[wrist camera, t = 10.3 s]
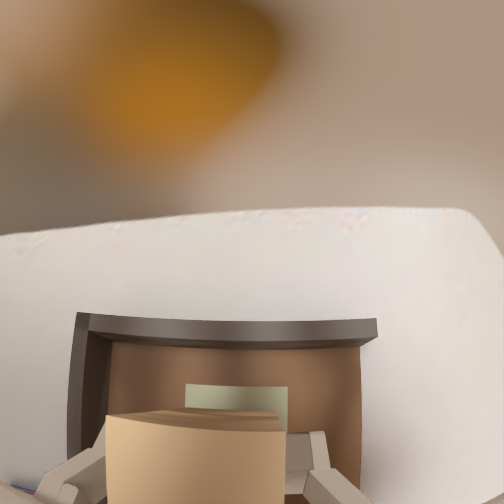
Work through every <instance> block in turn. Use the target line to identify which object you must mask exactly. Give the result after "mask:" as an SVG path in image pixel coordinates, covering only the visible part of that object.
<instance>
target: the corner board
mask: <svg viewBox="0 0 504 504" xmlns="http://www.w3.org/2000/svg"><path fill="white" fill-rule="evenodd" d="M376 337H378V332H377V321H376V318H371V319H352V320H326V321H203V320H178V319H158V318H142V317H127V316H114V315H103V314H92V313H82V312H77V315H76V322H75V328H74V336H73V344H72V352H71V362H70V373H69V386H68V404H67V460H69V459H71V458H73V457H74V456H76V455H78V454H79V453H81V452H83V451H84V450H86V449H88V448H93V446H94V443H95V441H96V439H97V437H98V435H99V433H100V431H101V429H102V427H103V425H104V423H105V421H106V415H116V414H130V413H142V412H152V411H161V410H169V409H177V408H184V407H193V408H206V409H224V410H275V412H276V414H277V416H278V418H279V420H280V422H281V423H282V425H283V427H284V429H285V431H286V433H292V432H314V431H324V433H325V437H326V443H327V449H328V455H329V461H330V467H331V468H335V469H336V470H337V471H339V472H340V473H341V474H342V475H343V476H344V477H345V478H346V479H347V480H348V481H349V482H350V483H352V484H353V485H354V486H355V487H356V488H357V489H358V490H359V486H360V467H361V433H362V404H361V368H360V348H359V347H360V346H362V345H364V344H365V343H367V342H369V341H371V340H373V339H375V338H376ZM107 503H108V500H107V495H106V496H105V497H104V498H103V499H102V500H100V501H99V502H98V503H97V504H107ZM284 504H310V503H309V502H308V500H307V499H306V498H305V497H304V495H303V494H285V496H284Z"/></svg>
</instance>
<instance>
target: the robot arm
mask: <svg viewBox="0 0 504 504" xmlns="http://www.w3.org/2000/svg"><path fill="white" fill-rule="evenodd" d="M105 426H106V421H105V423H104V425H103V427H102V429H101V431H100V433H99V435H98V437H97V439H96V441H95V443H94V446H93V448H88V449H86V450H84V451H83V452H81V453H79V454H78V455H76V456H74V457H73V458H71V459H69V460H67V461H66V462H64V463H62V464H61V465H59V466H57V467H55V468H54V469H52V470H50V471H48V472H46V473H45V474H44V476H43V478H42V480H41V482H40V484H39V486H38V488H37V490H36V492H35V494H34V495H33V497H30V496H28V495H26V494H24V493H23V492H21V491H19V490H17V489H15V488H13V487H12V486H10V485H8V484H7V483H5V482H3V481H2V480H0V504H97V503H98V502H99V501H100V500H102V499H103V498H104V497H105V496H106V495H107V484H106V457H105ZM285 494H303V495H304V497H305V498H306V499H307V500H308V502H309V503H310V504H374V503H373V502H372V501H371V500H370V499H369V498H367V497H366V496H365V495H364V494H363V493H362V492H361V491H359V490H358V489H357V488H356V487H355V486H354V485H353V484H352V483H350V482H349V481H348V480H347V479H346V478H345V477H344V476H343V475H342V474H341V473H340V472H339V471H337V470H336V469H335V468H331V467H330V461H329V455H328V449H327V443H326V437H325V433H324V431H314V432H292V433H286V458H285ZM483 504H504V493H502V494H500V495H498V496H497V497H495V498H493V499H491V500H489V501H487V502H485V503H483Z"/></svg>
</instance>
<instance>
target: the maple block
mask: <svg viewBox="0 0 504 504" xmlns="http://www.w3.org/2000/svg"><path fill="white" fill-rule="evenodd" d="M105 457H106V484H107V500H108V504H284V496H285V458H286V431H285V429H284V427H283V425H282V423H281V422H280V420H279V418H278V416H277V414H276V412H275V410H224V409H206V408H193V407H184V408H177V409H169V410H161V411H152V412H142V413H130V414H116V415H106V426H105Z"/></svg>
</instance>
